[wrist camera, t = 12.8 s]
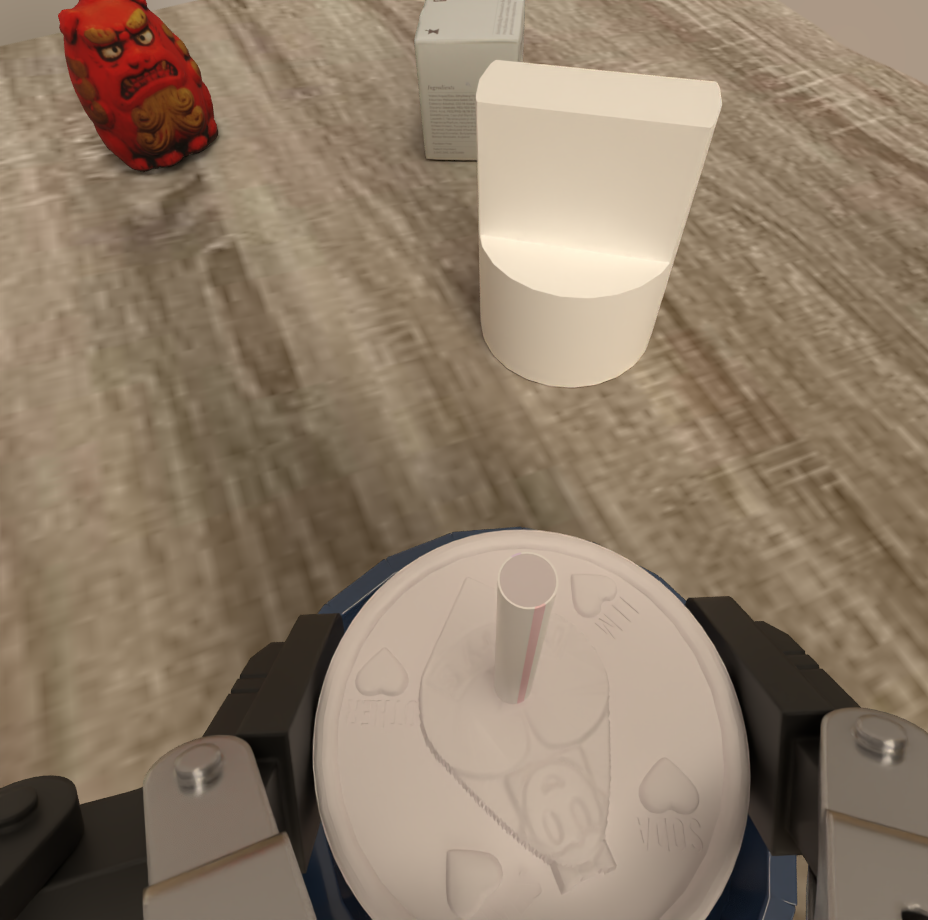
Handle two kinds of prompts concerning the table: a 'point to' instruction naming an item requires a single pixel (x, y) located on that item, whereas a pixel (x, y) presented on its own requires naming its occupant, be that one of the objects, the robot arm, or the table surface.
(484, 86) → the base with upright slab
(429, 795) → the smoothie
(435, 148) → the product carton
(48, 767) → the table surface
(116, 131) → the red clay folk toy
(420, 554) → the bowl
